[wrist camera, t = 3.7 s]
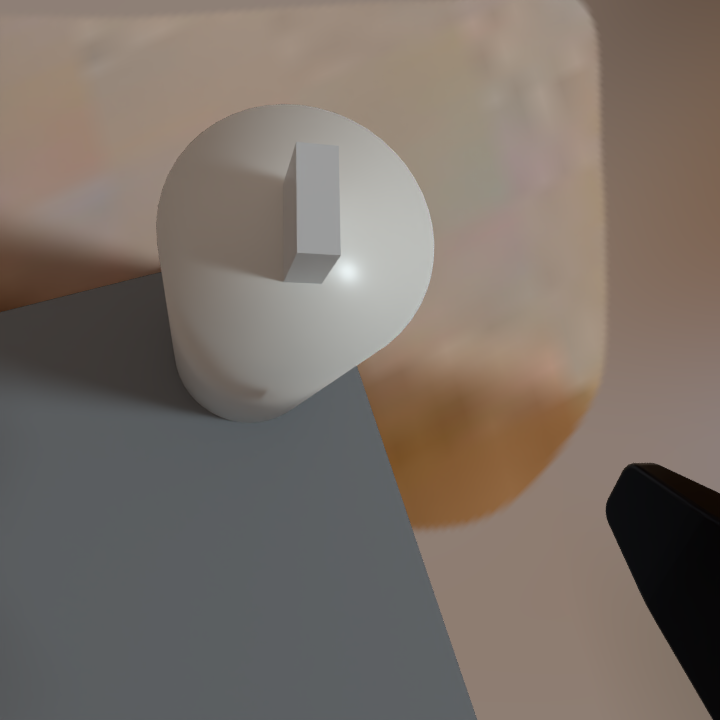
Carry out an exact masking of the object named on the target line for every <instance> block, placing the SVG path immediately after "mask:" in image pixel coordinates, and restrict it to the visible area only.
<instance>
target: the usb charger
mask: <svg viewBox="0 0 720 720" xmlns="http://www.w3.org/2000/svg"><path fill="white" fill-rule="evenodd" d="M156 230H157V246H158V252H159V259H160V265H161V272H162V278H163V285H164V291H165V298H166V304H167V311H168V317H169V324H170V330H171V337H172V343H173V350H174V356H175V362H176V367H177V370H178V373H179V376H180V378H181V380H182V383H183V385H184V386H185V388H186V389H187V391H188V392H189V394H190V395H191V396H192V397H193V398H194V399H195V400H196V401H197V402H198V403H199V404H200V405H201V406H202V407H204V408H205V409H207V410H208V411H210V412H211V413H213V414H215V415H217V416H219V417H221V418H224V419H227V420H231V421H236V422H244V423H255V422H263V421H268V420H271V419H274V418H277V417H279V416H281V415H283V414H285V413H287V412H289V411H290V410H292V409H293V408H295V407H296V406H298V405H299V404H301V403H302V402H304V401H305V400H306V399H308V398H309V397H311V396H312V395H314V394H315V393H317V392H318V391H320V390H321V389H323V388H324V387H326V386H327V385H329V384H330V383H332V382H333V381H335V380H336V379H337V378H339V377H340V376H342V375H343V374H345V373H346V372H348V371H349V370H351V369H352V368H354V367H355V366H357V365H358V364H360V363H361V362H363V361H364V360H366V359H367V358H368V357H370V356H371V355H373V354H374V353H376V352H377V351H379V350H380V349H382V348H383V347H385V346H386V345H388V344H389V343H390V342H391V341H392V340H393V339H394V338H395V337H397V336H398V335H399V334H400V333H401V332H402V330H403V329H404V328H405V327H406V326H407V325H408V323H409V322H410V321H411V320H412V318H413V316H414V315H415V313H416V312H417V310H418V308H419V307H420V305H421V303H422V300H423V298H424V296H425V294H426V291H427V288H428V285H429V281H430V278H431V274H432V267H433V261H434V236H433V227H432V222H431V218H430V214H429V209H428V207H427V204H426V201H425V199H424V196H423V193H422V191H421V189H420V188H419V186H418V184H417V182H416V180H415V178H414V176H413V175H412V173H411V172H410V171H409V169H408V168H407V166H406V165H405V163H404V162H403V161H402V160H401V159H400V157H399V156H398V155H397V154H396V153H395V152H394V151H393V150H392V149H391V148H390V147H389V146H388V145H387V144H386V143H385V142H384V141H383V140H382V139H380V138H379V137H378V136H376V135H375V134H373V133H372V132H371V131H369V130H368V129H367V128H365V127H363V126H361V125H360V124H358V123H356V122H354V121H353V120H351V119H348V118H346V117H344V116H341V115H339V114H336V113H334V112H330V111H327V110H323V109H320V108H316V107H310V106H304V105H291V104H278V105H265V106H260V107H255V108H251V109H247V110H244V111H241V112H238V113H235V114H232V115H230V116H228V117H226V118H224V119H222V120H220V121H218V122H216V123H215V124H213V125H212V126H210V127H209V128H208V129H206V130H205V131H203V132H202V133H201V134H200V135H199V136H197V137H196V138H195V139H194V140H193V141H192V142H191V143H190V144H189V145H188V146H187V147H186V149H185V150H184V151H183V152H182V154H181V155H180V156H179V157H178V159H177V160H176V162H175V164H174V166H173V167H172V169H171V171H170V172H169V174H168V177H167V179H166V182H165V184H164V186H163V189H162V193H161V197H160V201H159V205H158V212H157V222H156Z"/></svg>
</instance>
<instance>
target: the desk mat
mask: <svg viewBox="0 0 720 720" xmlns="http://www.w3.org/2000/svg"><path fill="white" fill-rule="evenodd" d="M0 720H477V718H476V715H475V712H474V709H473V706H472V703H471V700H470V697H469V695H468V692H467V689H466V686H465V683H464V680H463V677H462V674H461V671H460V668H459V665H458V662H457V659H456V656H455V654H454V651H453V648H452V645H451V642H450V639H449V636H448V633H447V630H446V627H445V624H444V621H443V618H442V615H441V613H440V609H439V606H438V603H437V601H436V598H435V595H434V592H433V589H432V586H431V583H430V580H429V577H428V574H427V571H426V568H425V565H424V562H423V559H422V557H421V554H420V551H419V548H418V545H417V542H416V539H415V536H414V533H413V530H412V527H411V524H410V521H409V518H408V515H407V512H406V510H405V507H404V504H403V501H402V498H401V495H400V492H399V489H398V486H397V483H396V480H395V477H394V474H393V471H392V468H391V465H390V463H389V460H388V457H387V454H386V451H385V448H384V445H383V442H382V439H381V436H380V433H379V430H378V427H377V424H376V421H375V418H374V416H373V413H372V410H371V407H370V404H369V401H368V398H367V395H366V392H365V389H364V386H363V383H362V380H361V377H360V374H359V371H358V369H357V366H355V367H354V368H352V369H351V370H349V371H348V372H346V373H345V374H343V375H342V376H340V377H339V378H337V379H336V380H335V381H333V382H332V383H330V384H329V385H327V386H326V387H324V388H323V389H321V390H320V391H318V392H317V393H315V394H314V395H312V396H311V397H309V398H308V399H306V400H305V401H304V402H302V403H301V404H299V405H298V406H296V407H295V408H293V409H292V410H290V411H289V412H287V413H285V414H283V415H281V416H279V417H277V418H274V419H271V420H268V421H263V422H255V423H244V422H236V421H231V420H227V419H224V418H221V417H219V416H217V415H215V414H213V413H211V412H210V411H208V410H207V409H205V408H204V407H202V406H201V405H200V404H199V403H198V402H197V401H196V400H195V399H194V398H193V397H192V396H191V395H190V394H189V392H188V391H187V389H186V388H185V386H184V385H183V383H182V380H181V378H180V376H179V373H178V370H177V367H176V362H175V356H174V350H173V343H172V337H171V330H170V324H169V317H168V311H167V304H166V298H165V291H164V285H163V278H162V272H159V273H155V274H151V275H147V276H143V277H139V278H135V279H131V280H127V281H123V282H119V283H115V284H111V285H107V286H103V287H99V288H95V289H91V290H87V291H83V292H79V293H75V294H71V295H67V296H63V297H59V298H55V299H51V300H47V301H43V302H39V303H35V304H31V305H27V306H23V307H19V308H15V309H11V310H7V311H3V312H0Z"/></svg>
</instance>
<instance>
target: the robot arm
mask: <svg viewBox="0 0 720 720" xmlns="http://www.w3.org/2000/svg"><path fill="white" fill-rule="evenodd" d="M606 516H607V520H608V523H609V525H610V527H611V529H612V532H613V534H614V536H615V538H616V540H617V543H618V545H619V547H620V549H621V551H622V554H623V556H624V558H625V560H626V562H627V565H628V566H629V569H630V571H631V573H632V576H633V578H634V580H635V582H636V584H637V586H638V589H639V591H640V593H641V595H642V597H643V599H644V601H645V603H646V605H647V607H648V609H649V610H650V612H651V614H652V616H653V618H654V620H655V621H656V623H657V625H658V627H659V628H660V630H661V632H662V633H663V635H664V637H665V639H666V640H667V642H668V644H669V645H670V647H671V649H672V650H673V652H674V654H675V656H676V657H677V659H678V661H679V663H680V664H681V666H682V668H683V669H684V671H685V673H686V675H687V676H688V678H689V680H690V681H691V683H692V685H693V687H694V688H695V690H696V692H697V693H698V695H699V697H700V698H701V700H702V702H703V703H704V705H705V707H706V709H707V711H708V712H709V714H710V716H711V717H712V719H713V720H720V493H718V492H716V491H714V490H712V489H710V488H707V487H705V486H703V485H701V484H699V483H696V482H695V481H692V480H690V479H688V478H686V477H684V476H682V475H680V474H677V473H675V472H673V471H671V470H669V469H667V468H665V467H662V466H660V465H658V464H654V463H633V464H629V465H628V466H627V467H625V468H624V470H623V471H622V473H621V475H620V477H619V479H618V481H617V483H616V485H615V487H614V489H613V491H612V492H611V494H610V496H609V498H608V500H607V503H606Z"/></svg>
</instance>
